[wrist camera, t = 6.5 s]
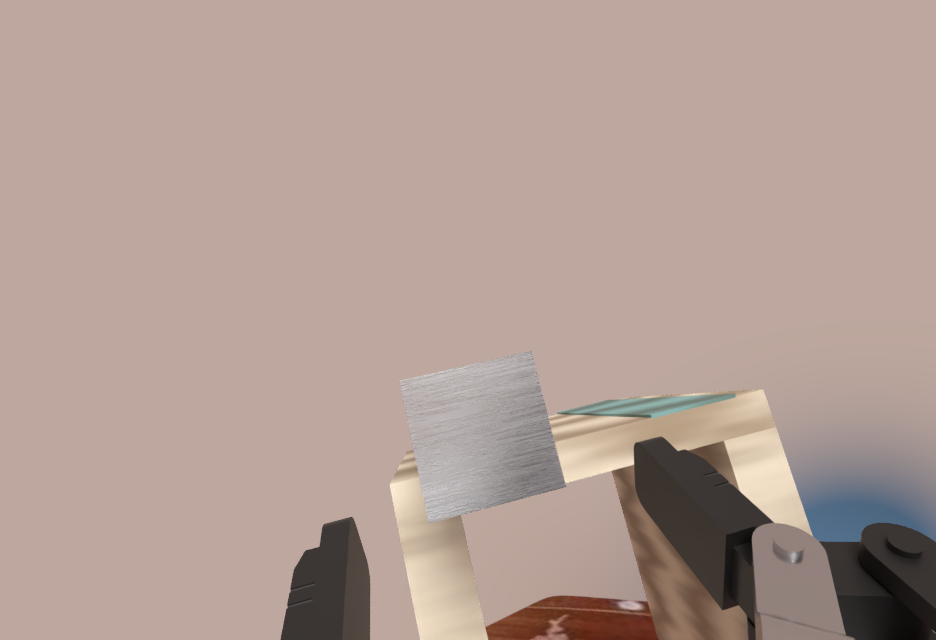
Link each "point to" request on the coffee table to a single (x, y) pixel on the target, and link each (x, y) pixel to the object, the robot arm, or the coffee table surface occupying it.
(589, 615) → the coffee table surface
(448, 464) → the block
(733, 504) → the robot arm
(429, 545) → the bridge
